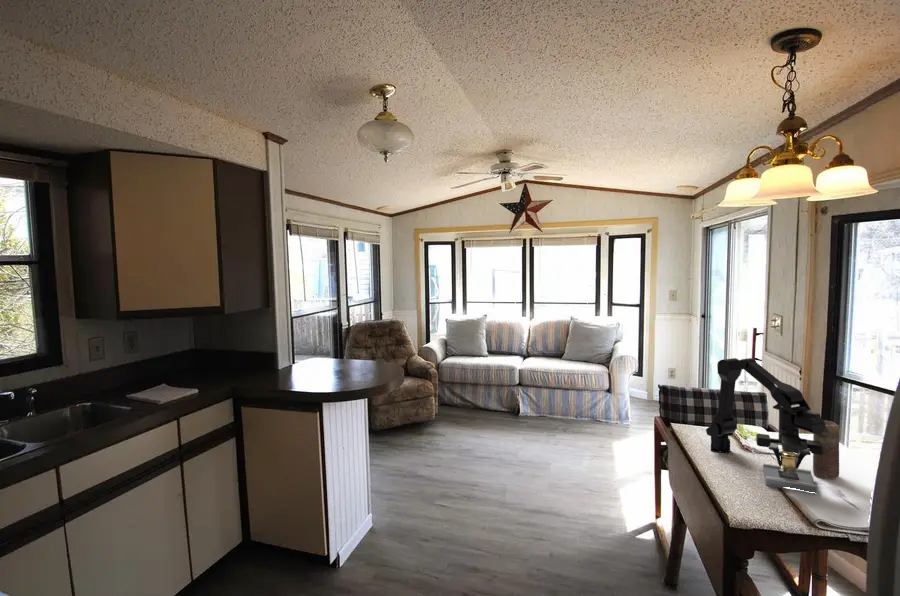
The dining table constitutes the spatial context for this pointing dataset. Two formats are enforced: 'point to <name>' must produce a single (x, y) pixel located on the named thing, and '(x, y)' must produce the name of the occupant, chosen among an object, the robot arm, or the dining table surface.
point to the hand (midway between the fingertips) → (788, 467)
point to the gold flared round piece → (788, 461)
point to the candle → (827, 452)
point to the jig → (788, 478)
